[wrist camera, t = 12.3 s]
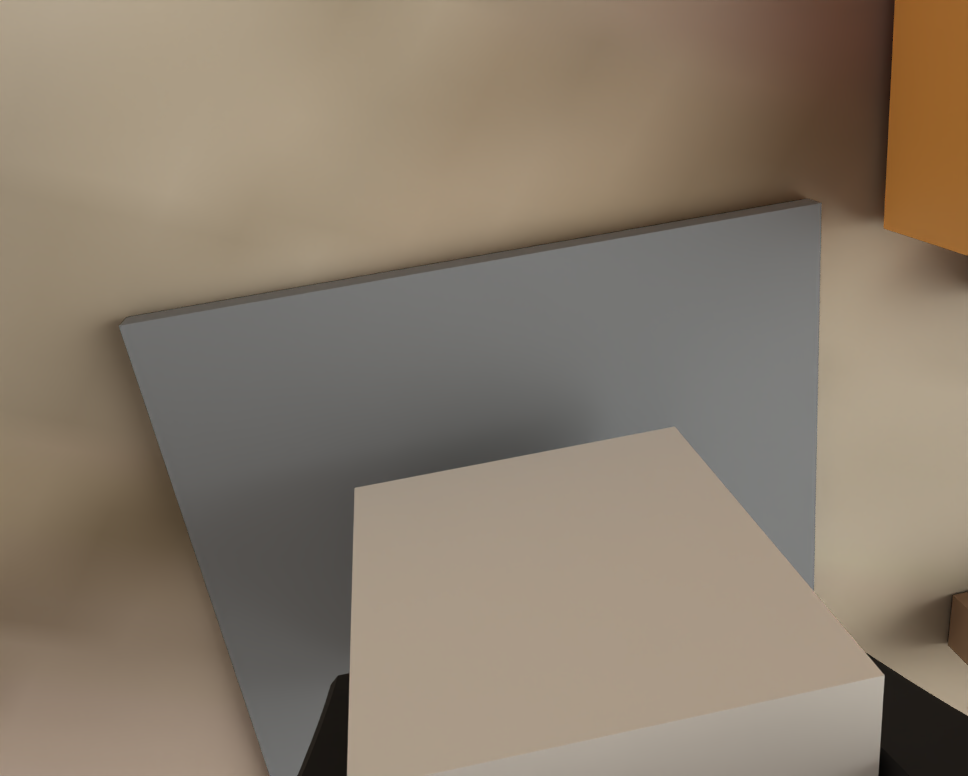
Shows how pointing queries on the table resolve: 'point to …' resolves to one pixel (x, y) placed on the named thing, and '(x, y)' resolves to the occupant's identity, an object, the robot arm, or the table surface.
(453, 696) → the white block
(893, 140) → the orange bar
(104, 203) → the table surface
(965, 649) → the walnut channel
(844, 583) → the table surface
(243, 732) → the table surface
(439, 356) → the slate mat
